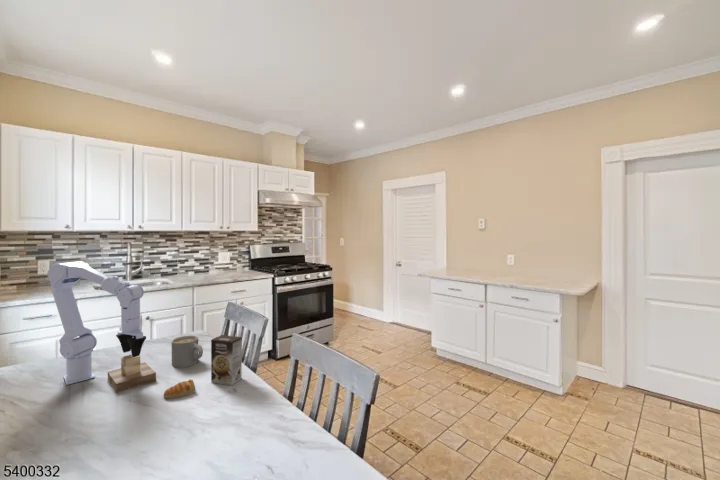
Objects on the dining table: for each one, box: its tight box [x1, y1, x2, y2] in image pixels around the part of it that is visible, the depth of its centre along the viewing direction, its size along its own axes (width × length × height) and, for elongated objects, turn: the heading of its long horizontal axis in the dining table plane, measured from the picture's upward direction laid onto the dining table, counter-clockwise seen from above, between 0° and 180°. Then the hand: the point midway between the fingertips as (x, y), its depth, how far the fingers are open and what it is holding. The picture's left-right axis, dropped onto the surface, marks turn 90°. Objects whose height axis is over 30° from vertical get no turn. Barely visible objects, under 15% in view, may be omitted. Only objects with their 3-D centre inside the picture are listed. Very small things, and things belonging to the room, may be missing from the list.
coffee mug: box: [171, 335, 204, 369], centre depth 136 cm, size 13×10×10 cm
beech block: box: [120, 354, 141, 376], centre depth 120 cm, size 4×4×6 cm
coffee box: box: [210, 334, 243, 386], centre depth 120 cm, size 9×6×16 cm
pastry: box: [163, 379, 196, 400], centre depth 111 cm, size 9×7×4 cm
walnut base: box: [107, 361, 157, 393], centre depth 120 cm, size 14×12×3 cm
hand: (131, 353), depth 120 cm, fingers open, 7 cm apart
